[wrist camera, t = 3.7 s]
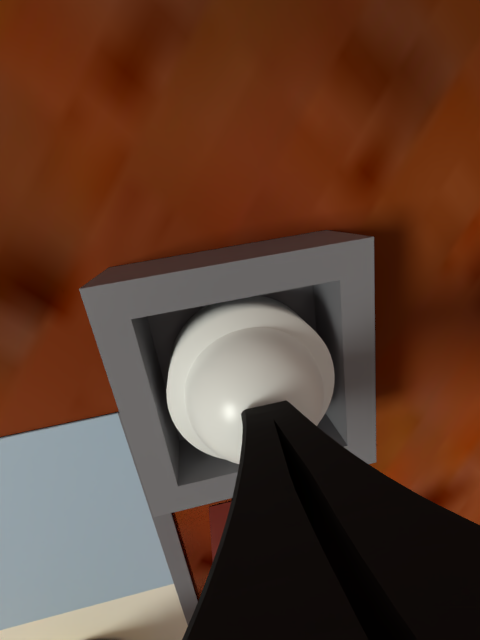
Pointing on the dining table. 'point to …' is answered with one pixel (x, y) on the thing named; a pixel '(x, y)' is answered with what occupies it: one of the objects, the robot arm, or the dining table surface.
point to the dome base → (220, 286)
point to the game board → (85, 541)
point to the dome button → (244, 371)
